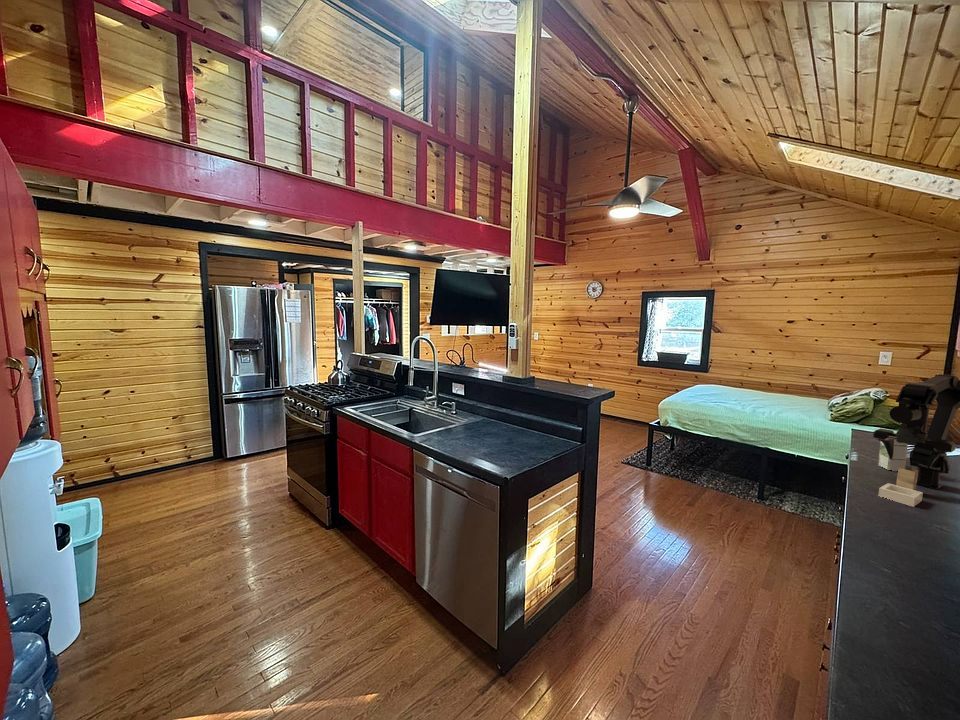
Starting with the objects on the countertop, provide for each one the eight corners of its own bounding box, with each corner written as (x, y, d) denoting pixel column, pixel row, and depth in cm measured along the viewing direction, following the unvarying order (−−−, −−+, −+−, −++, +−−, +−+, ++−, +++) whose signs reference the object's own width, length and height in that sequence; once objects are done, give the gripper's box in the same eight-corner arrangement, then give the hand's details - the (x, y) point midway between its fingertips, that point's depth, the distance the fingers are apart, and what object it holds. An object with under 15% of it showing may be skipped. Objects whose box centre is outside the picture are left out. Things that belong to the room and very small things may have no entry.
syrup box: (905, 472, 157) (910, 436, 155) (887, 470, 158) (892, 435, 156) (893, 466, 162) (898, 432, 161) (876, 465, 163) (880, 431, 162)
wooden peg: (899, 488, 142) (902, 464, 141) (915, 492, 138) (918, 467, 137) (895, 490, 140) (898, 466, 139) (911, 494, 136) (915, 469, 135)
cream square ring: (886, 491, 139) (888, 483, 139) (921, 501, 132) (922, 492, 131) (878, 496, 135) (879, 488, 135) (913, 506, 128) (914, 497, 127)
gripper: (869, 416, 140) (864, 459, 142) (949, 430, 124) (942, 477, 126) (881, 413, 146) (876, 453, 148) (959, 425, 130) (952, 470, 131)
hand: (909, 463), depth 138 cm, fingers open, 9 cm apart
